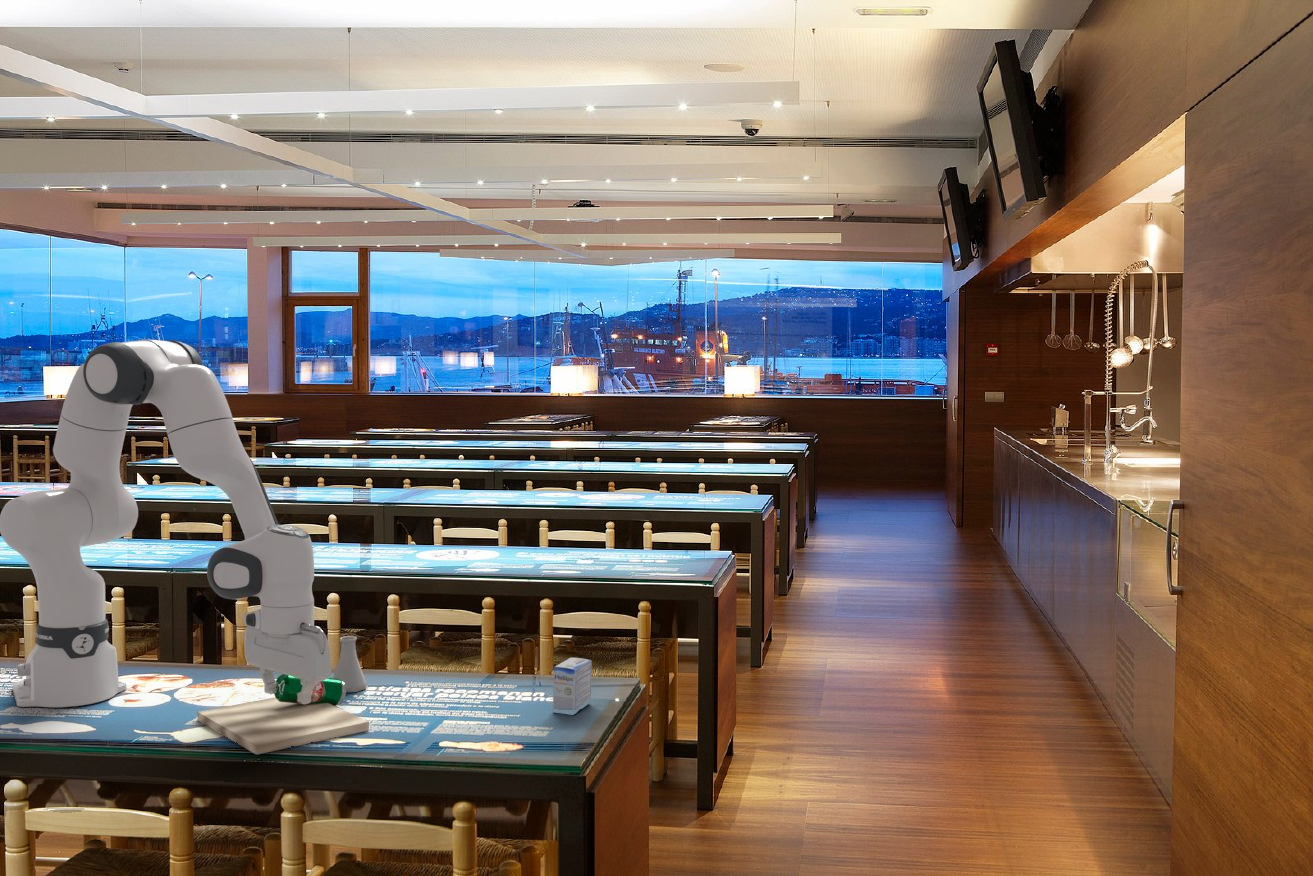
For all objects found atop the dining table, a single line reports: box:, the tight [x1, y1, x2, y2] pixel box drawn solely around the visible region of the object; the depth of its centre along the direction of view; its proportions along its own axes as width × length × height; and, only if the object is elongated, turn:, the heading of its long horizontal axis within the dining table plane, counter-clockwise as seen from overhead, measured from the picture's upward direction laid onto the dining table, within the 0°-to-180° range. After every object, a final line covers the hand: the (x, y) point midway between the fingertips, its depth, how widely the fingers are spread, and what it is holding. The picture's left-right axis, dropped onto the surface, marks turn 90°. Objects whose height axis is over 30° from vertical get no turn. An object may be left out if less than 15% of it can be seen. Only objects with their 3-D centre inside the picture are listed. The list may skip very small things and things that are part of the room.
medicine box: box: [552, 657, 593, 710], centre depth 218 cm, size 8×4×9 cm, turn 161°
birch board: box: [196, 697, 370, 755], centre depth 205 cm, size 24×20×2 cm
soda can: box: [273, 673, 347, 707], centre depth 214 cm, size 5×5×12 cm
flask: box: [332, 635, 368, 693], centre depth 229 cm, size 7×7×10 cm
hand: (287, 698), depth 206 cm, fingers open, 8 cm apart
